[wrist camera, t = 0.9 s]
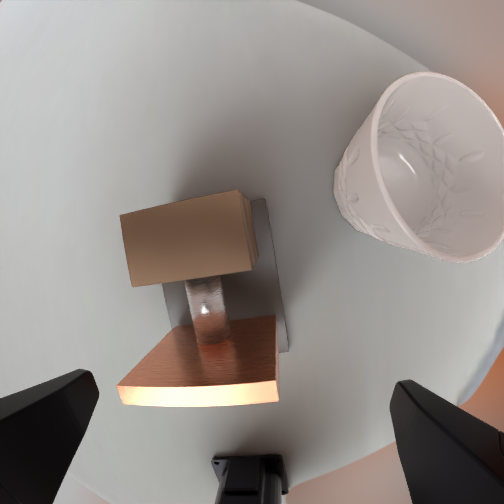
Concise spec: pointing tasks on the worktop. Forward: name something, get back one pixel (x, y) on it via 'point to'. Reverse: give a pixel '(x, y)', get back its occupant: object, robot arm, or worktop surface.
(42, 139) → the worktop surface
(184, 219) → the bearing block
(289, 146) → the worktop surface
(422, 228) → the white cup
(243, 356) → the copper wooden slab
